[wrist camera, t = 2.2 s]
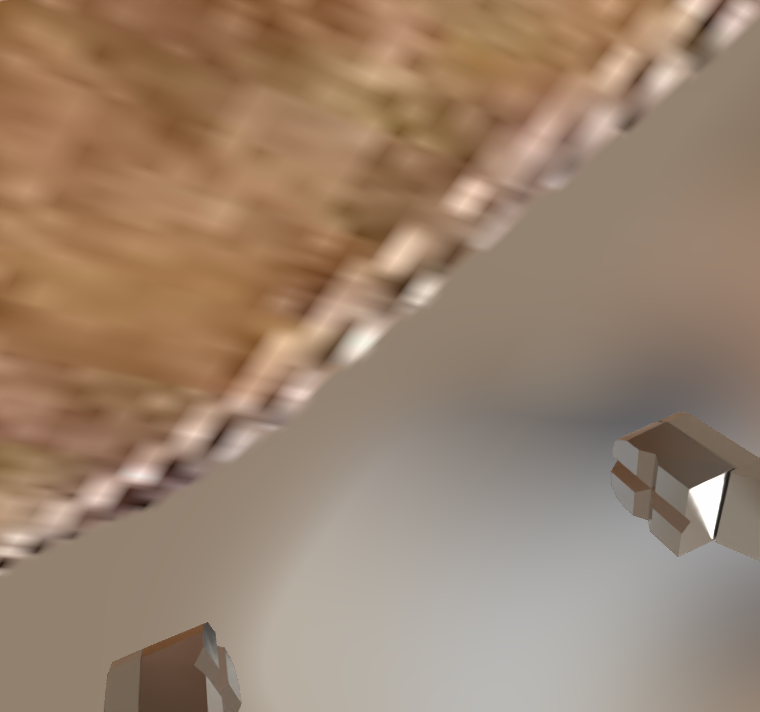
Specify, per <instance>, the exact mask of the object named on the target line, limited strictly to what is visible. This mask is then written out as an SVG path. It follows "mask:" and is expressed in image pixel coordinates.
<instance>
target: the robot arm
mask: <svg viewBox="0 0 760 712" xmlns="http://www.w3.org/2000/svg"><path fill="white" fill-rule="evenodd" d="M612 455H613V456H614V457H615V458H616V459H617V460H618V461H617V463H616V464H615V466H614V467H613V469H612V471H611V485H612V487H613V490H614V492H615V495H616V497H617V498H618V500H619V501H620V502H621V504H622V505H623V506H624V507H625V508H626V509H627V510H628V511H629V512H630V513H631V514H632V515H634V516H637V517H640V518H643V519H646V520H648V523H649V528H650V532H651V533H652V534H653V535H655V536H656V537H657V538H658V539H659V540H660V541H661V542H662V543H663V544H664V545H665V546H666V547H668V548H669V549H670V550H671V551H672V552H673V553H674V554H675V555H676V556H678V557H679V556H681V555H683V554H685V553H688V552H690V551H692V550H694V549H696V548H698V547H700V546H702V545H705V544H707V543H709V542H711V541H713V540H715V539H716V541H715V542H716V543H718V544H721V545H723V546H726V547H728V548H731V549H733V550H735V551H738V552H740V553H743V554H745V555H747V556H749V557H752V558H754V559H756V560H759V561H760V458H758V457H757V456H755V455H754V454H752V453H750V452H749V451H747V450H745V449H744V448H743V447H741V446H739V445H738V444H736V443H735V442H733V441H731V440H730V439H728V438H727V437H725V436H724V435H722V434H720V433H719V432H717V431H715V430H714V429H712V428H711V427H709V426H708V425H706V424H705V423H703V422H701V421H700V420H698V419H697V418H695V417H694V416H692V415H691V414H688V413H685V412H678V413H676V414H673V415H671V416H669V417H667V418H664V419H662V420H660V421H658V422H654V423H652V424H650V425H648V426H645V427H643V428H641V429H639V430H637V431H634V432H632V433H630V434H628V435H626V436H624V437H621V438H619V439H617V440H616V441H615V443H614V445H613V448H612ZM240 706H241V696H240V689H239V684H238V679H237V675H236V672H235V668H234V665H233V663H232V660H231V658H230V656H229V654H228V652H227V651H226V649H225V648H224V647H219V646H217V644H216V635H215V632H214V630H213V629H212V627H211V626H210V625H209V623H208V622H207V623H204V624H202V625H200V626H197V627H195V628H192V629H190V630H188V631H185V632H183V633H180V634H178V635H175V636H173V637H171V638H168V639H166V640H163V641H161V642H158V643H156V644H153V645H151V646H149V647H147V648H144V649H142V650H139V651H137V652H135V653H132V654H130V655H128V656H125V657H123V658H121V659H119V660H116V661H114V662H112V664H111V667H110V669H109V672H108V674H107V683H106V693H105V704H104V712H238V711H239V708H240Z"/></svg>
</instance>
